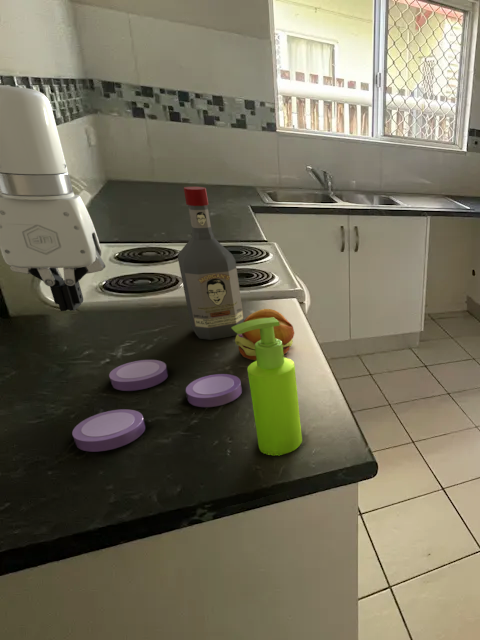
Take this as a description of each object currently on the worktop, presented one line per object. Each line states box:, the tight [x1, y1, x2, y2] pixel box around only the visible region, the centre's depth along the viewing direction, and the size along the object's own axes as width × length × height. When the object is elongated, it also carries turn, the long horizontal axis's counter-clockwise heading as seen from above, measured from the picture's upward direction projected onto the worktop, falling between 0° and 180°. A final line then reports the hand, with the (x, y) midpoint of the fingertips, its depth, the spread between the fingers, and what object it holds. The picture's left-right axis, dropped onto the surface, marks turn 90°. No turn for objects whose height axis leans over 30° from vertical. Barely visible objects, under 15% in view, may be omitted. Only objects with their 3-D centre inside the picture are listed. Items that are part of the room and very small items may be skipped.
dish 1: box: [71, 408, 146, 453], centre depth 69 cm, size 8×8×2 cm
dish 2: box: [108, 359, 169, 392], centre depth 83 cm, size 8×8×2 cm
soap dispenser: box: [231, 317, 303, 456], centre depth 66 cm, size 6×7×20 cm
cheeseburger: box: [234, 308, 295, 361], centre depth 94 cm, size 10×11×10 cm
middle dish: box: [185, 373, 243, 408], centre depth 80 cm, size 8×8×2 cm
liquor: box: [177, 186, 245, 341], centre depth 97 cm, size 9×9×30 cm
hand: (71, 307), depth 73 cm, fingers closed
